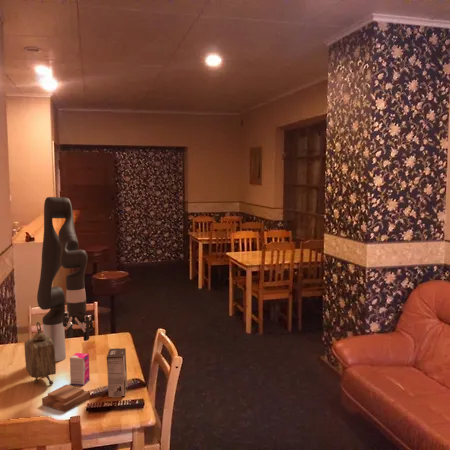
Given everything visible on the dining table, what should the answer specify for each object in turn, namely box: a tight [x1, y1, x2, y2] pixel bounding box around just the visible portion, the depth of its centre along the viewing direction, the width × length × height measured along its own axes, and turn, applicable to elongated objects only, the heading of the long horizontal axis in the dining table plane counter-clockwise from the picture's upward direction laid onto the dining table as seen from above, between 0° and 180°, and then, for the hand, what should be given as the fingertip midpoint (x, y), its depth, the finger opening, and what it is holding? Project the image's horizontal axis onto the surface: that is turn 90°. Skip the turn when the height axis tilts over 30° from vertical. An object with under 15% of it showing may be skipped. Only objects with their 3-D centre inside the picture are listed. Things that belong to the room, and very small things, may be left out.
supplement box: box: [69, 352, 91, 386], centre depth 204 cm, size 6×6×12 cm
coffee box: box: [106, 347, 128, 398], centre depth 194 cm, size 9×6×16 cm
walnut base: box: [41, 384, 91, 413], centre depth 188 cm, size 12×12×4 cm
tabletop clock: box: [24, 321, 57, 386], centre depth 205 cm, size 14×9×25 cm, turn 32°
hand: (78, 338), depth 203 cm, fingers open, 8 cm apart
